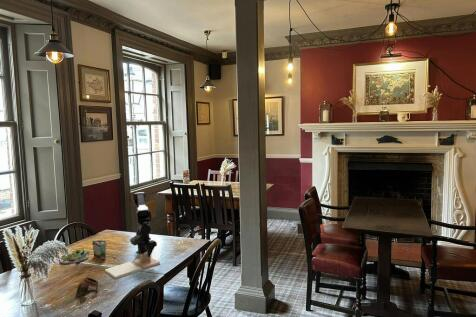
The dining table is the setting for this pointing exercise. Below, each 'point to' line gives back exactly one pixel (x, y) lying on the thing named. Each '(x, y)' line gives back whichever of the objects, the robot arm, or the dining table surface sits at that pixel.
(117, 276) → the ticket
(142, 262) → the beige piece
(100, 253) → the food container
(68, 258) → the salad plate
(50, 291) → the dining table surface
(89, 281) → the pottery mug
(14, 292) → the dining table surface
